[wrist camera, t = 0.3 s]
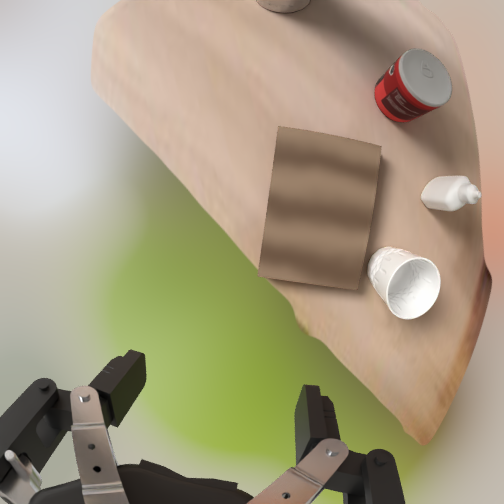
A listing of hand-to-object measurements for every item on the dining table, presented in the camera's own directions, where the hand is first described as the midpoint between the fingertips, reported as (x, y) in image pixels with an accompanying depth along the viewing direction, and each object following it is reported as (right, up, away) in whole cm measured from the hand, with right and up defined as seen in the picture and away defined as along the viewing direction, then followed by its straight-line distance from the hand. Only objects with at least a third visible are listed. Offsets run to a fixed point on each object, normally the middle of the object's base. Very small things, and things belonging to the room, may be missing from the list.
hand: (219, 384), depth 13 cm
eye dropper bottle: (+29, +16, +24) cm, 41 cm away
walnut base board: (+11, +12, +26) cm, 31 cm away
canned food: (+23, +29, +21) cm, 43 cm away
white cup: (+22, +4, +27) cm, 35 cm away
